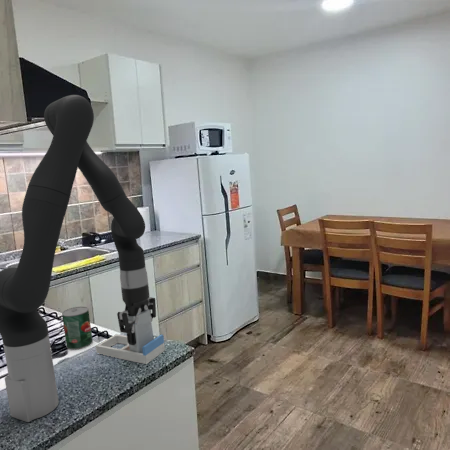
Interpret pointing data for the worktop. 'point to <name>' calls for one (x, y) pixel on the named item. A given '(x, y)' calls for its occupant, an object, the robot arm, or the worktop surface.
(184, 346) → the worktop surface
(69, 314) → the canned tomato
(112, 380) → the worktop surface
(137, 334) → the skincare box
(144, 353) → the two-compartment tray
